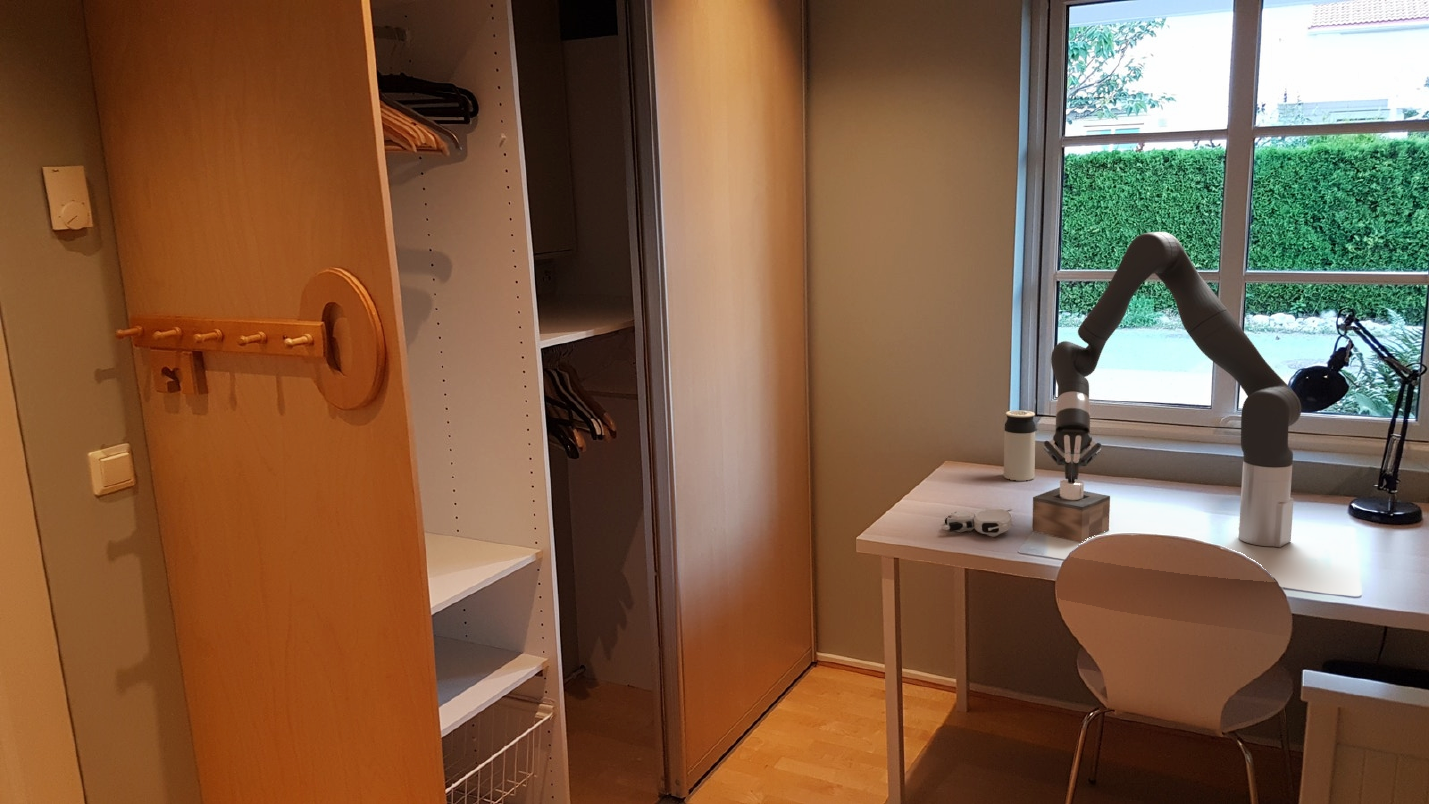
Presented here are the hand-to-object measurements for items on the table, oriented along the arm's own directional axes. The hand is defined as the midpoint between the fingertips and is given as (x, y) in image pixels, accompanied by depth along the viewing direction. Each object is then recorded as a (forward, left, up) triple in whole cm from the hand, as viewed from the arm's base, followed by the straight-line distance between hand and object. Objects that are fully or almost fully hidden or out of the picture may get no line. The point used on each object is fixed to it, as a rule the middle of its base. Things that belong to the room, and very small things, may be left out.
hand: (1071, 479), depth 228 cm
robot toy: (+15, +14, -12) cm, 24 cm away
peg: (0, 0, -9) cm, 9 cm away
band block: (0, 0, -12) cm, 12 cm away
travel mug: (+34, -33, -12) cm, 49 cm away
